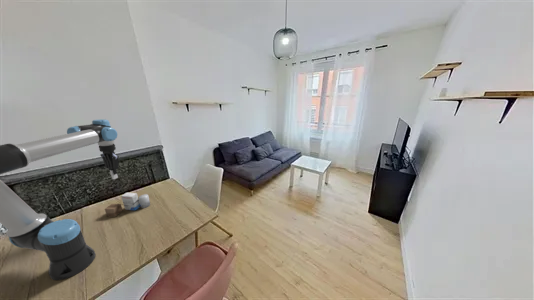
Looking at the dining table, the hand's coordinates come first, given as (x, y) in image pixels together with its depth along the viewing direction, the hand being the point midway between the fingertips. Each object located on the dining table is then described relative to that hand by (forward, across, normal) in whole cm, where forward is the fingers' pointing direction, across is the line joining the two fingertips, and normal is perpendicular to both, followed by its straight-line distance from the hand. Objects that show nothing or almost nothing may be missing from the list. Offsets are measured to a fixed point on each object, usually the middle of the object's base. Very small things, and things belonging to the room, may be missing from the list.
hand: (115, 178), depth 114 cm
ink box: (+26, -2, -5) cm, 27 cm away
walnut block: (+26, +3, +3) cm, 27 cm away
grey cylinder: (+26, -8, -10) cm, 29 cm away
